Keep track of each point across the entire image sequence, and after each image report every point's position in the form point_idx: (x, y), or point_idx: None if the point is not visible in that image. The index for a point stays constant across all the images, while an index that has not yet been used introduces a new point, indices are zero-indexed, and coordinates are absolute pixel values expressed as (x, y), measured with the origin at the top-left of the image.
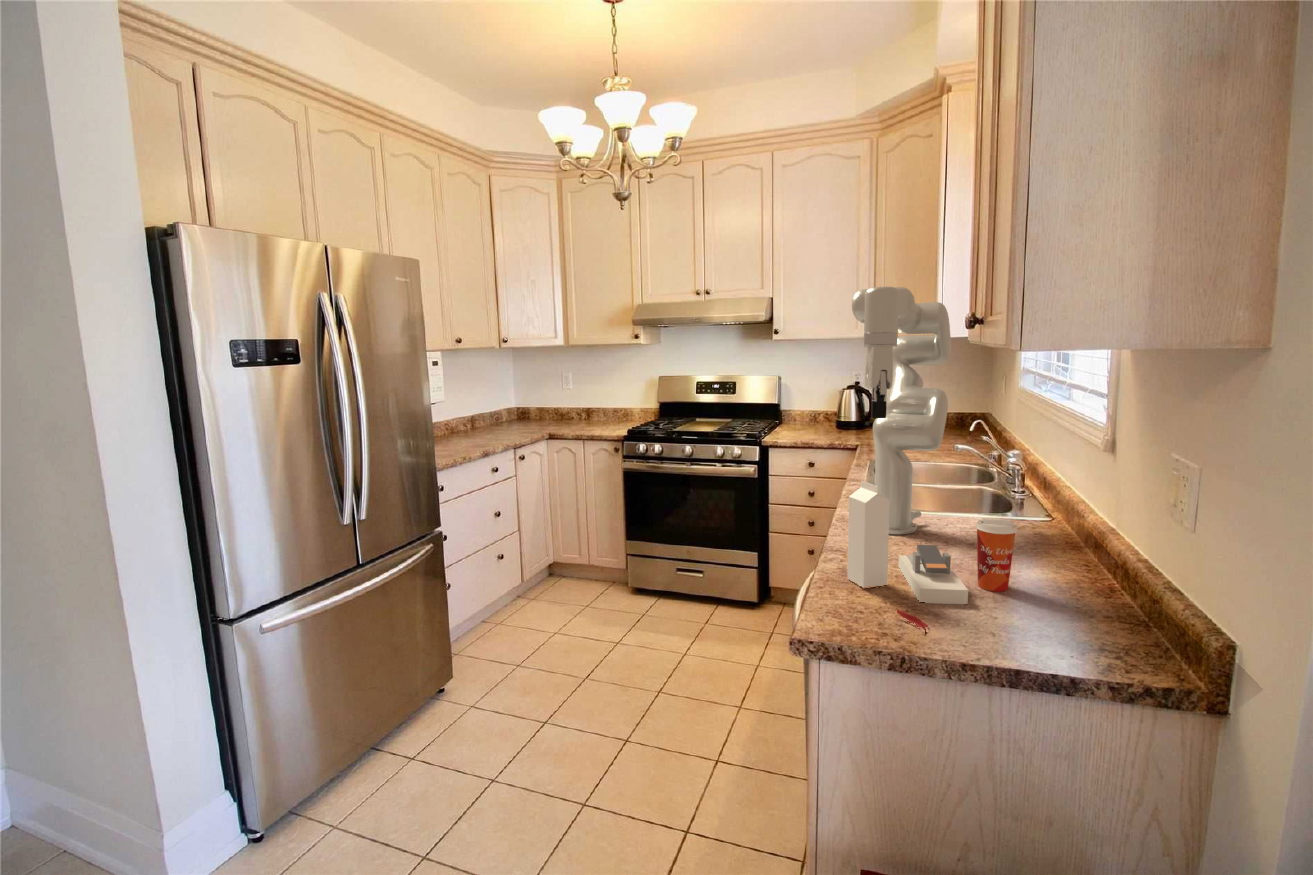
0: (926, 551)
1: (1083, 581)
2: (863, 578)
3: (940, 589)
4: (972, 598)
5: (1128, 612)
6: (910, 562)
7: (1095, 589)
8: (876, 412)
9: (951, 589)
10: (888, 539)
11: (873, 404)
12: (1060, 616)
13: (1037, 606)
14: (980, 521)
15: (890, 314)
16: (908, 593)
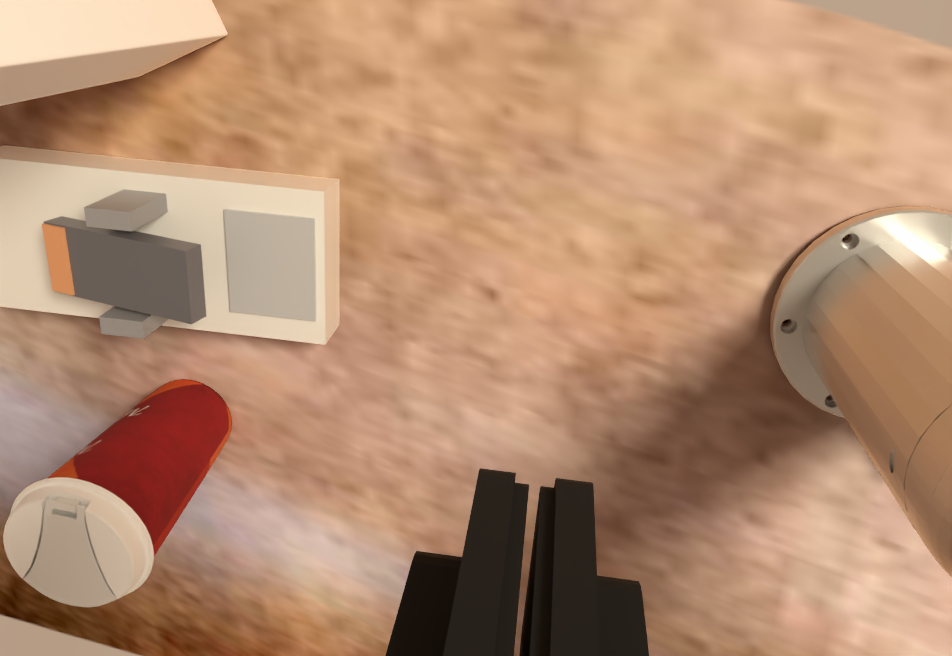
0: (143, 267)
1: (273, 645)
2: None
3: None
4: (85, 322)
5: (78, 623)
6: (239, 210)
7: (217, 640)
8: (411, 569)
9: None
10: (18, 101)
11: (446, 654)
12: (13, 480)
13: (66, 460)
14: (65, 510)
15: None
16: (82, 134)
